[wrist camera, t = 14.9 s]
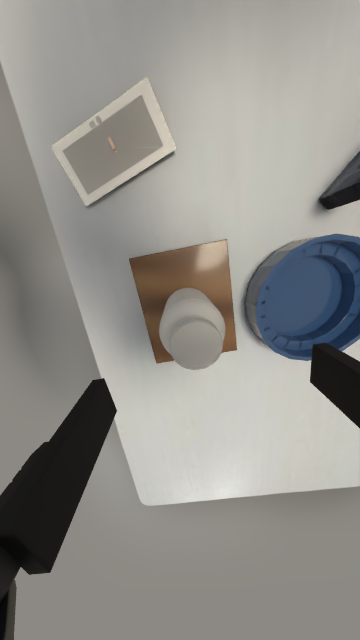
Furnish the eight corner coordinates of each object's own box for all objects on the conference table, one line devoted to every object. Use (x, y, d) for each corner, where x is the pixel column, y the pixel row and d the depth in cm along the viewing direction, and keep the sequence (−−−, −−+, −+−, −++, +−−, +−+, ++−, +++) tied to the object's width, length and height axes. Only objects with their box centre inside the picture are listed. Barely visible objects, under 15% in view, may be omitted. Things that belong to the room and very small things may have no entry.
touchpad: (176, 153, 25) (176, 143, 23) (89, 208, 27) (82, 204, 25) (148, 85, 22) (145, 67, 20) (56, 151, 24) (44, 141, 22)
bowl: (240, 251, 29) (253, 250, 24) (362, 228, 28) (400, 221, 23) (248, 354, 35) (259, 368, 30) (348, 337, 34) (375, 349, 29)
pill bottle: (215, 292, 30) (249, 320, 16) (202, 334, 33) (220, 389, 18) (171, 280, 30) (165, 298, 15) (160, 323, 32) (146, 373, 18)
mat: (129, 258, 29) (129, 258, 28) (225, 239, 28) (226, 239, 28) (156, 361, 35) (156, 363, 35) (235, 348, 34) (236, 350, 34)
